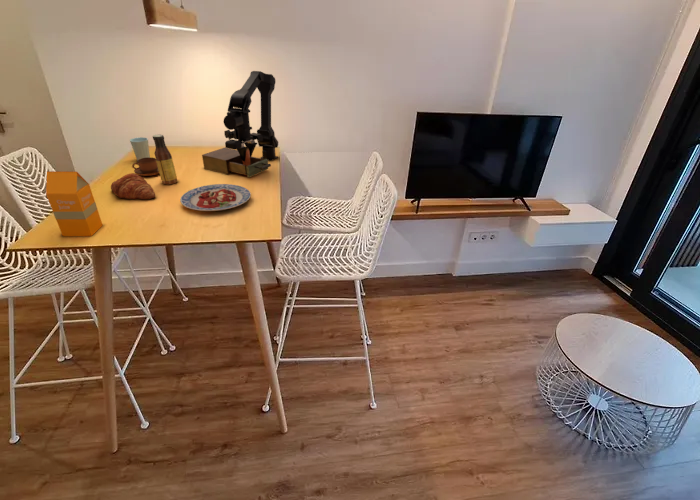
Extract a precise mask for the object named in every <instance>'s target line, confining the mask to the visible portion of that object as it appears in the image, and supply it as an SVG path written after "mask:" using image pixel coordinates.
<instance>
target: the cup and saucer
mask: <svg viewBox="0 0 700 500" xmlns="http://www.w3.org/2000/svg"><path fill="white" fill-rule="evenodd" d="M135 165H138V167H135ZM131 167H132V169H134V170H133V173H134V174H137V175H139V176H141V177H149V176H150V177H151V176H157V175H160V173H159V170H158V166H157V162H156V157H151V156H150V157H148V158H142V159H139V160H138V161H137V162H133V163H132V165H131Z"/></svg>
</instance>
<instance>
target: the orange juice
mask: <svg viewBox="0 0 700 500" xmlns="http://www.w3.org/2000/svg"><path fill="white" fill-rule="evenodd" d="M45 183H46V185H45V186H46V187H45V196H46V198H47V200H48V202H49V205H50V209H51V210H52V213H53V216H54V219H55V220H56V224H57V225H58V229H59V230H60V233H61V235H62V237H92V236H94V235H95V233H96V232H98V230H100V229H101V228H102V227H103V221H102V219H101V215H100V213H99V210H98V206H97V203H96V200H95V197H94V194H93V192H92V189H91V185H90V183H89V182H88V181H87V180H86V179H85V178H84V177H83V176H82V175H81V174H80V173H79V172H78V171H58V170H57V171H55V170H54V171H49V170H48V171H46V182H45Z"/></svg>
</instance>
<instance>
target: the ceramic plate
mask: <svg viewBox="0 0 700 500" xmlns="http://www.w3.org/2000/svg"><path fill="white" fill-rule="evenodd" d="M251 196H252V193H251V190H249V189H248V188H246V187H244V186H241V185H237V184H231V183H215V184H206V185H201V186H198V187H195V188H193V189H189V190H188V191H186V192H184V193H183V194H182V195H181V196H180V199H179V200H180V203H181V205H182V206H183V207H185V208H187V209H190V210H193V211H199V212H200V211H201V212H216V211H219V212H220V211H225V210H229V209H233V208H236V207H239V206H241V205H243V204H245V203H247V202H248V201H249V200H250V199H251Z"/></svg>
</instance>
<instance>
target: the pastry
mask: <svg viewBox="0 0 700 500" xmlns="http://www.w3.org/2000/svg"><path fill="white" fill-rule="evenodd" d="M110 190H111V191H112V193H113V194H115V195H116V197H118V198H119V199H127V200H143V201H145V200H148V201H149V200H152V199H155V198H156V193H155V191H154V188H153V187H152V185H151V184H150V183H148V181H147V180H145V178H144V177H143V176H141V175H138V174H136V173H135V172H131V173H127V174H125V175H122V176H121V177H119V178H118V179H116V180H114V181H113V182H111V184H110Z"/></svg>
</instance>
